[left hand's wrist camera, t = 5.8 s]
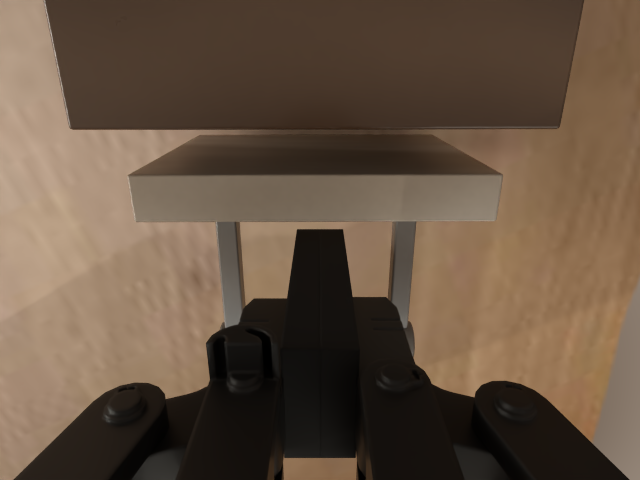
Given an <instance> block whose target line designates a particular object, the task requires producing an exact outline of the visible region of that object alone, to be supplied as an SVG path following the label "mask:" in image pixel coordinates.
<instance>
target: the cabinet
mask: <svg viewBox="0 0 640 480" xmlns="http://www.w3.org/2000/svg"><path fill="white" fill-rule="evenodd" d="M583 3H584V0H44V5H45V10H46V15H47V20H48V25H49V30H50V35H51V40H52V45H53V50H54V55H55V59H56V64H57V69H58V74H59V79H60V84H61V89H62V94H63V99H64V104H65V109H66V114H67V119H68V124H69V127H70V129H73V130H210V129H557V128H559V127H560V123H561V118H562V112H563V107H564V102H565V97H566V92H567V86H568V81H569V76H570V71H571V66H572V61H573V55H574V50H575V45H576V40H577V35H578V29H579V24H580V19H581V14H582V9H583Z"/></svg>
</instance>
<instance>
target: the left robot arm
mask: <svg viewBox="0 0 640 480" xmlns="http://www.w3.org/2000/svg"><path fill="white" fill-rule="evenodd" d="M206 347H207V356H208V365H209V374H210V382H209V385H208V386H207V387H205V388H203V389H201V390H199V391H197V392H193V393H190V394H187V395H182V396H178V397H174V398H169V399H165V394H164V393H163V392H162V390H161V389H160V388H159V387H157V386H155V385H152V384H149V383H131V384H127V385H122V386H119V387H116V388H114V389H112V390H110V391H108V392H105V393H104V394H103V395H101V396H100V397H99V398H97V399H96V400H95V401H93V402H92V403H91V404H90V405H89V406H88V407H87V408H86V409H85V410H84V411H83V412H82V413H81V414H80V415H79V416H78V417H77V418H76V419H75V420H74V421H73V422H72V423H71V424H70V425H69V426H68V427H67V428H66V429H65V430H64V431H63V432H62V433H61V434H60V435H59V436H58V437H57V438H56V439H55V440H54V441H53V442H52V443H51V444H50V445H49V446H48V447H47V448H45V449H44V450H43V451H42V452H41V453H40V454H39V455H38V456H37V457H36V458H35V459H34V460H33V461H32V462H31V463H30V464H29V465H28V466H27V467H26V468H25V469H24V470H23V471H22V472H21V473H20V474H19V475H18V476H17V477H16V478H15V479H14V480H284V475H283V457H284V458H356V454H357V475H356V480H629V479H628V478H627V477H626V476H625V475H624V474H623V473H622V472H621V471H620V470H619V469H618V468H617V467H616V466H615V465H614V464H613V463H612V462H611V461H610V460H609V459H608V458H607V457H605V455H603V454H602V453H601V452H600V451H599V450H598V449H597V448H596V447H595V446H594V445H593V444H592V443H591V442H590V441H589V440H588V439H587V438H586V437H585V436H584V435H583V434H582V433H581V432H580V431H579V430H578V429H577V428H576V427H575V426H574V425H573V424H572V423H571V422H570V421H569V420H568V419H566V418H565V417H564V416H563V415H562V414H561V413H560V412H559V411H558V410H557V409H556V408H555V407H554V406H553V405H552V404H551V403H550V402H549V401H548V400H547V399H546V398H544V397H543V396H542V395H540V394H539V393H538V392H536V391H535V390H533V389H530V388H528V387H526V386H524V385H521V384H518V383H513V382H509V381H491V382H489V383H486V384H483V385H481V386H480V388H479V389H478V390H477V391H476V393H475V398H474V397H470V396H466V395H461V394H457V393H453V392H449V391H446V390H443V389H441V388H439V387H437V386H435V385H433V384H431V381H430V379H429V377H428V376H427V374H426V373H425V371H424V370H423V369H421V368H420V367H418V366H417V365H416V364H415V362H414V359H413V356H412V352H411V349H410V346H409V343H408V340H407V337H406V334H405V331H404V328H403V324H402V321H401V318H400V315H399V312H398V309H397V307H396V306H395V305H394V304H393V303H392V302H391V301H390V300H389V299H387V298H386V297H352V290H351V283H350V276H349V269H348V262H347V255H346V248H345V241H344V234H343V229H297V234H296V241H295V248H294V255H293V262H292V269H291V276H290V283H289V290H288V297H287V299H253V300H252V301H251V302H250V303H249V304H248V305H246V306H245V307H244V308H243V311H242V314H241V317H240V322H239V323H238V325H233V326H230V327H227V328H224V329H221V330H220V331H218V332H216V333H215V334H213V335H212V336H211V337H210V339H209V340H208V341H207V343H206Z"/></svg>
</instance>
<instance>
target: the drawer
mask: <svg viewBox="0 0 640 480" xmlns="http://www.w3.org/2000/svg"><path fill="white" fill-rule="evenodd" d="M502 179H503V174H501V173H499V172H497V171H496V170H494V169H492V168H490V167H488V166H487V165H485V164H483V163H481V162H480V161H478V160H476V159H474V158H472V157H471V156H469V155H467V154H465V153H464V152H462V151H460V150H458V149H456V148H455V147H453V146H451V145H449V144H448V143H446V142H444V141H442V140H440V139H439V138H437V137H435V136H433V135H199V136H197V137H196V138H194V139H192V140H190V141H188V142H187V143H185V144H183V145H181V146H179V147H178V148H176V149H174V150H172V151H170V152H169V153H167V154H165V155H163V156H162V157H160V158H158V159H156V160H154V161H153V162H151V163H149V164H147V165H145V166H144V167H142V168H140V169H138V170H136V171H135V172H133V173H131V174H129V175H128V183H129V189H130V195H131V202H132V208H133V214H134V220H135V222H216V233H217V244H218V255H219V266H220V276H221V287H222V298H223V309H224V320H225V322H223V323H222V325H221V327H220V330H221V329H224V328H227V327H230V326H233V325H238V323H239V322H240V317H241V314H242V311H243V308H244V307H245V293H244V279H243V264H242V250H241V236H240V222H367V221H393V225H392V241H391V257H390V273H389V289H388V299H389V300H390V301H391V302H392V303H393V304H394V305H395V306H396V307H397V309H398V312H399V315H400V318H401V321H402V324H403V328H404V331H405V334H406V337H407V340H408V343H409V346H410V349H411V352H412V356H413V357H414V350H415V341H414V332H413V327H412V325H411V322H409V321H408V314H409V302H410V290H411V278H412V266H413V254H414V242H415V230H416V221H496V218H497V212H498V205H499V199H500V192H501V186H502Z"/></svg>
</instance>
